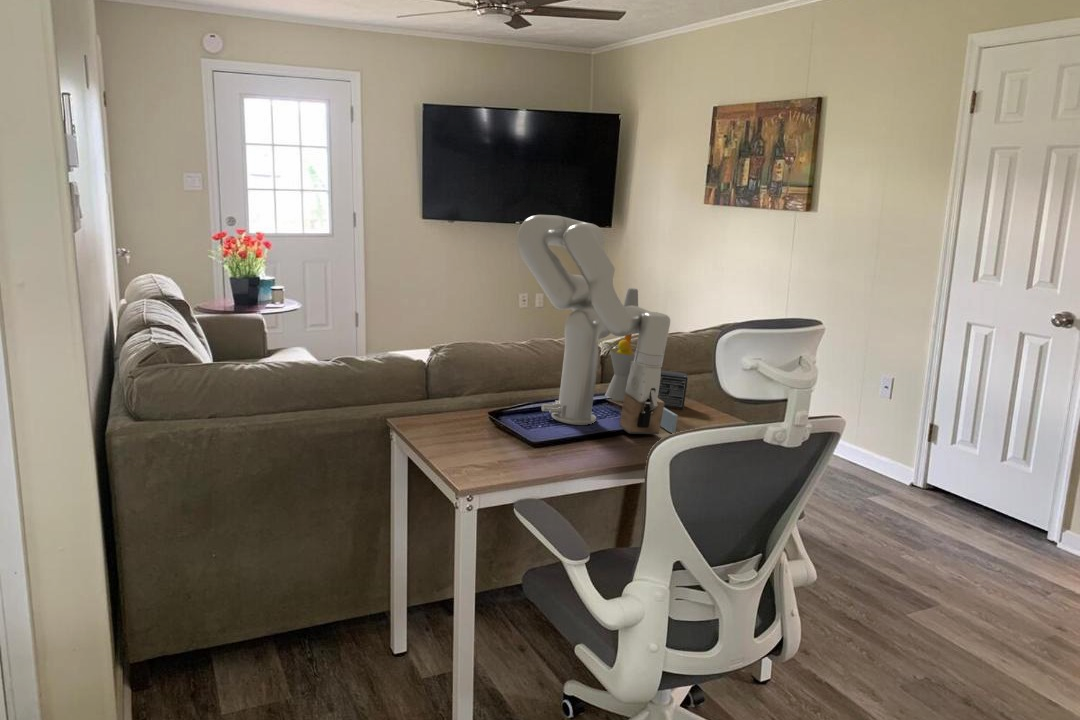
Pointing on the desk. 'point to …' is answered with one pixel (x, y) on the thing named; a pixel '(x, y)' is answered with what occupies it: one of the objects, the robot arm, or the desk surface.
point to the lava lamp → (622, 357)
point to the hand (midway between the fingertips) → (637, 422)
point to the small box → (673, 389)
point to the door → (669, 420)
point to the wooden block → (632, 415)
